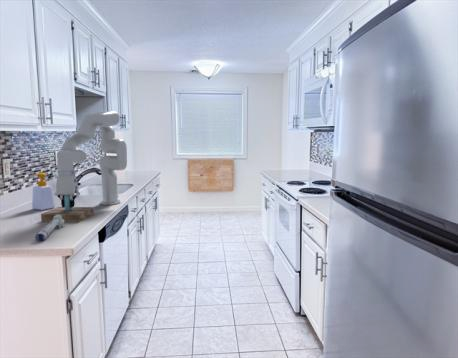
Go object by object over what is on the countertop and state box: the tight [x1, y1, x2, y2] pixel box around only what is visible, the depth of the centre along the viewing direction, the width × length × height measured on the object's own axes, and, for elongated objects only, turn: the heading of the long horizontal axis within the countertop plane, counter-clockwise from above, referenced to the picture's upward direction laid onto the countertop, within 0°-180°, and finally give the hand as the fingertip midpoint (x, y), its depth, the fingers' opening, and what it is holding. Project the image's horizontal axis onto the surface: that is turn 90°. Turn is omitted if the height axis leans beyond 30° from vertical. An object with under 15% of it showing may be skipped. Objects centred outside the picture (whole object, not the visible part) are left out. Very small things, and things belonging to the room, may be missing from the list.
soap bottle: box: [26, 172, 56, 211], centre depth 192 cm, size 10×14×22 cm
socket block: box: [40, 206, 95, 223], centre depth 175 cm, size 17×20×4 cm
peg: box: [64, 195, 72, 212], centre depth 174 cm, size 3×3×12 cm
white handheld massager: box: [34, 215, 65, 242], centre depth 148 cm, size 5×7×25 cm
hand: (68, 206), depth 174 cm, fingers open, 3 cm apart
